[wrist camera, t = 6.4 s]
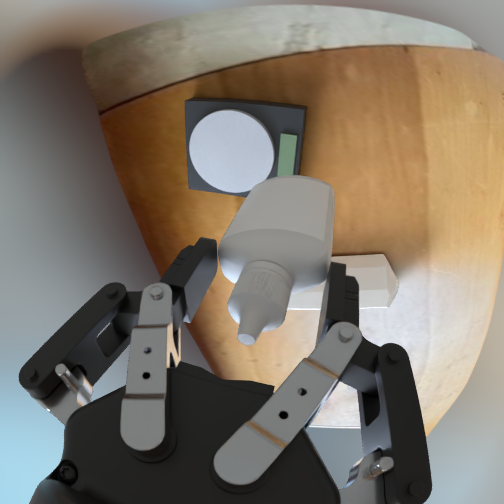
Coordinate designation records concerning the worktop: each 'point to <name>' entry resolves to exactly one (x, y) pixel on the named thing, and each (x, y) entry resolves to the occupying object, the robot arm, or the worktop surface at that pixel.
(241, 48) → the worktop surface
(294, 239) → the eye dropper bottle
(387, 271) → the chamfered white bar
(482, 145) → the worktop surface
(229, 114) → the kitchen scale
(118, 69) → the worktop surface
